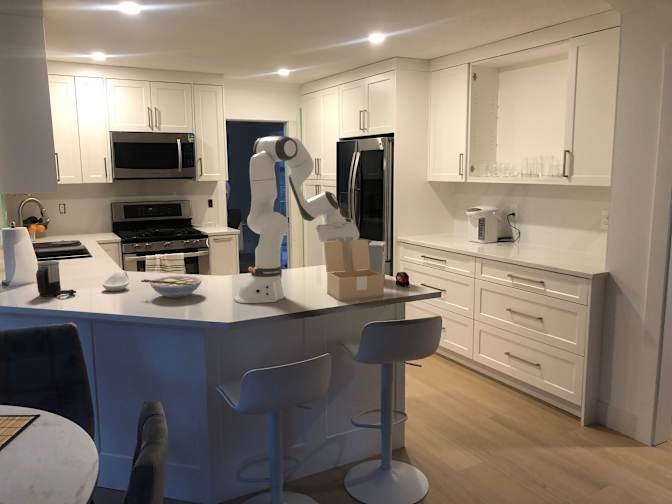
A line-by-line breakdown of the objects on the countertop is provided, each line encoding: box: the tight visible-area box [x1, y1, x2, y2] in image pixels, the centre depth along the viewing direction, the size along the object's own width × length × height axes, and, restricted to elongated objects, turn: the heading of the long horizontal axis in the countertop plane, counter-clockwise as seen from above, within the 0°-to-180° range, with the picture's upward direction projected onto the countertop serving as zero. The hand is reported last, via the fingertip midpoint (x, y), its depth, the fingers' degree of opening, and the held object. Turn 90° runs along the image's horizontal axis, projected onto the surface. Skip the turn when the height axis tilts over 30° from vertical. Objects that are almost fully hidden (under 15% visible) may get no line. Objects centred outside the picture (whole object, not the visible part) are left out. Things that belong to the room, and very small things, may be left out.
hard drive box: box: [366, 240, 387, 280], centre depth 279 cm, size 16×8×20 cm, turn 168°
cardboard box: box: [326, 269, 385, 302], centre depth 251 cm, size 22×14×10 cm, turn 112°
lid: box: [323, 239, 370, 273], centre depth 257 cm, size 22×14×1 cm
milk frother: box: [35, 260, 77, 297], centre depth 248 cm, size 14×16×15 cm
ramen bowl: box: [140, 274, 203, 299], centre depth 248 cm, size 25×23×8 cm
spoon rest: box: [101, 270, 130, 292], centre depth 265 cm, size 24×12×7 cm, turn 10°
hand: (342, 246), depth 262 cm, fingers closed
